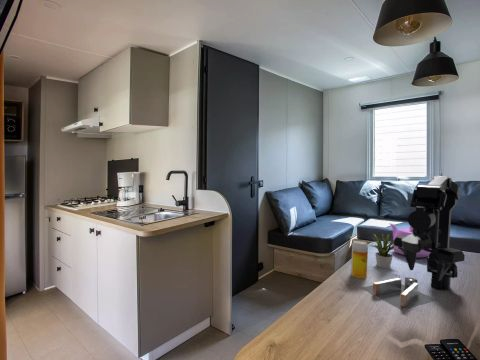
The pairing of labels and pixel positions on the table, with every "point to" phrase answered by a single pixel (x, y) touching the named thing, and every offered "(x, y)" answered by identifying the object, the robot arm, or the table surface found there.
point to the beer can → (359, 259)
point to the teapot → (405, 233)
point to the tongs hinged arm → (409, 291)
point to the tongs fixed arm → (386, 286)
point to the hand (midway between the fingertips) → (424, 275)
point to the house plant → (384, 252)
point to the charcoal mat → (395, 297)
